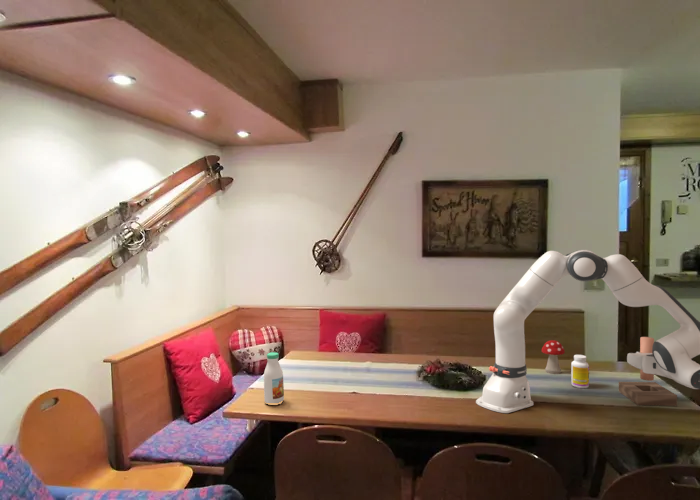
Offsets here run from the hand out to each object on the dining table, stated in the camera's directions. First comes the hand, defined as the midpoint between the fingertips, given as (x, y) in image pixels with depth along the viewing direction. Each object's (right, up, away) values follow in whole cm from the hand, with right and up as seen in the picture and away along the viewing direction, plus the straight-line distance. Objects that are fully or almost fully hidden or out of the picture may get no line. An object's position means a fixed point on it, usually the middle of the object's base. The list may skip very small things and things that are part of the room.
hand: (645, 353), depth 173 cm
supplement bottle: (-18, -17, +15) cm, 29 cm away
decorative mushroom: (-21, -17, +33) cm, 42 cm away
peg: (0, -10, 0) cm, 10 cm away
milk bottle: (-146, -21, +5) cm, 148 cm away
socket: (0, -17, 0) cm, 17 cm away
